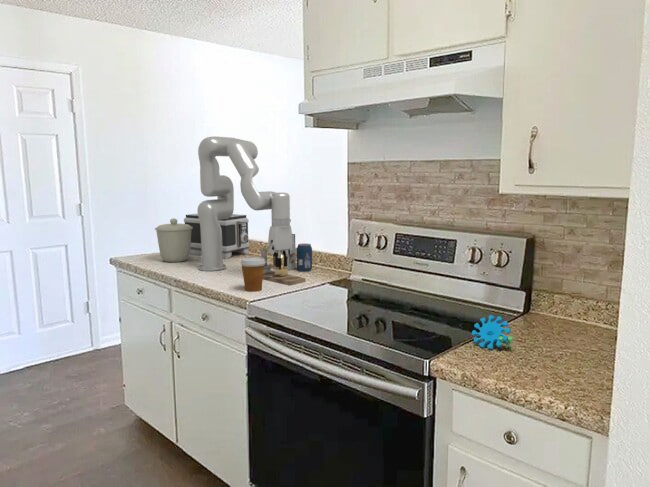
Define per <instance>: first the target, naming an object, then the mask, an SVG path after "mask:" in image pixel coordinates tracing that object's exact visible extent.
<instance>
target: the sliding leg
mask: <svg viewBox="0 0 650 487" xmlns="http://www.w3.org/2000/svg"><path fill="white" fill-rule="evenodd" d="M280 258H281V259H282V267H281V268H279V267H278V268H275V269H274V272H275V275H273V276H285V275H289V270H288V268H284V254H280Z"/></svg>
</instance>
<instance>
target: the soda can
mask: <svg viewBox="0 0 650 487" xmlns="http://www.w3.org/2000/svg"><path fill="white" fill-rule="evenodd" d="M296 269H297V271H298V272H300V273H301V272H303V273H307V272H310V271H312V269H313V247H312V245H311V243H298V244H297V247H296Z"/></svg>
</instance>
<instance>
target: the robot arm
mask: <svg viewBox="0 0 650 487" xmlns="http://www.w3.org/2000/svg"><path fill="white" fill-rule="evenodd" d="M197 148H198V149H197V155H198V160H199V161H198V162H199V173H200V174H199V177H200V178H199V180H200V182H199V184H200V185H199V186H200V187H199V188H200V192H201V195H203V196H204V197H207V198H208V197H209V198H211V197H212V198H213V197H217V199H215V198H214V199H206V200H203V201H200V202H199V204H198V206H197V214H198V217H199V221H200V231H201V256H200V258H199V259H198V262H199V263H200V265H198V270H199V271H202V272H203V271H205V272H210V271H211V272H214V271H223V270H225V269H226V268H227V265H226V264H224V260H223V252H222V229H221V226H220V224H219V222H218V220H222V219H228V218H230V217H231V216H232V214H234V210H235V209H234V208H235V200H234V199H235V198H234V197H235V192H234V191H235V190H234V183H233V181H232V179H231V178H230V177H229V176H228V175H225V174H224V175H221V173H220V168H221V167H220V163H219V161H218V159H217V158H216V157H228V158H229V159H230V161H231V163H232V164H233V166H234V168H235V170H236V171H237V173H238V174H239V176H240V182H239V184H240V187H239V188H240V192H241V196H242V197H243V198H244V201H245V203H246V204H247V205H248V207H249V208H251V209H252V210H254V211H264V210H270V211H271V213H270V214H271V225H270V226H269V230H268V231H269V232H268V239H267V247H268V253H269V254H270V255H272V257H273V256H274V257H275V266H276V267H279V268H281V267H282V259H281V258H280V253H281V250H282V254H284V266H287V257H288V254H289V253H290V251H292V250H293V247H292V244H293V240H292V234H293V232H292V226H291V221H292V219H291V212H290V210H291V206H290V205H291V203H290V202H291V199H290V198H291V196H290V194H289V193H287V192H276V191H258V190H257V188H256V186H255V184H254V182H253V178H255V177H256V176H257V175H258V173H259V171H260V170H259V169H260V168H259V166H258V164H257V163H256V161H255V159H257V157H258V154H259V151H258V147H257V145H256V144H255V143H254V142H252V141H251V140H250V141H248V140H245V139H242V138H241V139H240V138H235V137H227V136H207V137H204V139H202V140H201V141H200V143H199V145H198V147H197ZM277 252H278V253H277Z"/></svg>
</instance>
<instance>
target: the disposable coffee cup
mask: <svg viewBox="0 0 650 487" xmlns="http://www.w3.org/2000/svg"><path fill="white" fill-rule="evenodd" d="M239 264H240V265H241V268H242V277H243V283H244V284H243V285H244V289H245V291H246V292H252V293H253V292H260V291H262V290H263V281H264V279H263V272H264V265H265V260H264V258H261V256H260V257H259V256H248V257H243V258H241V260H240V262H239Z"/></svg>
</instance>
